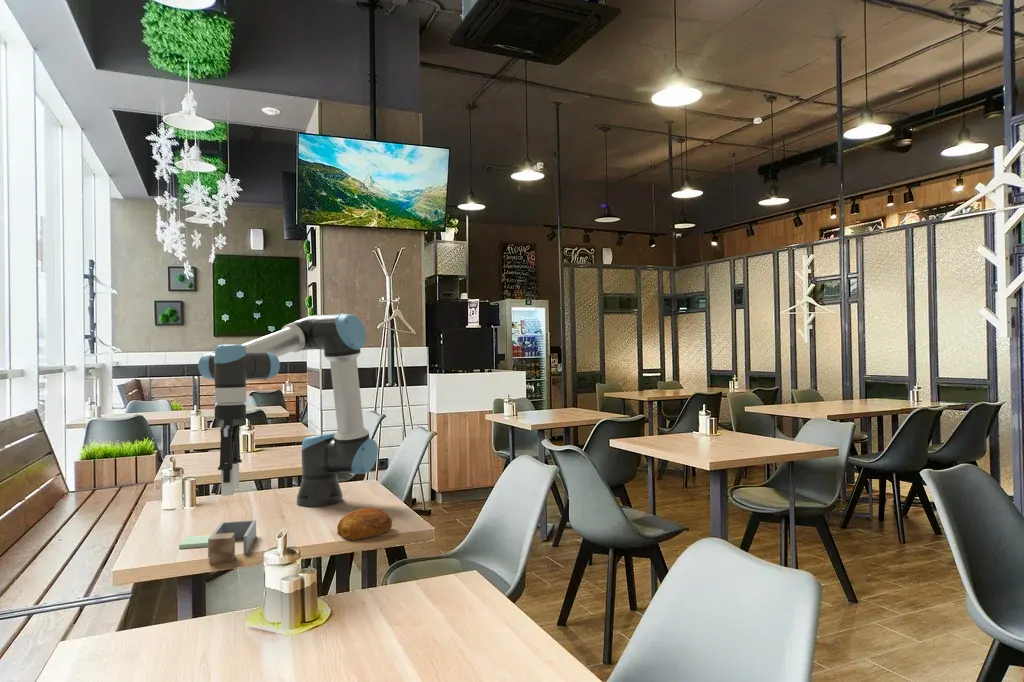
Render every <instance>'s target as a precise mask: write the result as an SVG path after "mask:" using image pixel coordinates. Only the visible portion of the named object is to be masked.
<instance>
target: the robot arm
mask: <svg viewBox="0 0 1024 682" xmlns="http://www.w3.org/2000/svg"><path fill="white" fill-rule="evenodd" d="M366 341H367V331H366V327H365V324H364V322H363V321H362V320H361V319H360V318H359V317H358V316H357V315H356V314H353V313H331V314H313V315H310V316H307V317H304V318H300V319H298V320H295V321H293V322H290V323H288V324H285V325H284V326H282V327H281V330H278V331H275V332H272V333H270V334H267V335H264V336H261V337H259V338H256V339H253V340H250V341H248V342H245V343H243V344H219V345H217V346H215V349H214V352H213V351H212V352H208V353H205V354H203V355H202V356H201V357H200V358H199V361H198V364H197V365H198V366H197V368H198V371H199V374H200V376H202V377H203V378H204V379H207V380H213V381H214V391H212V392H211V394H212V396H214V403H215V405H214V419H215V420H216V421H217V420H218V421H223V424H222V426H221V427H220V430H219V432H220V449H219V452H220V453H219V466H218V467H217V471H221V472H220V473H221V475H220V477H221V479H220V480H221V483H220V484H221V485H220V487H221V488H220V490H221V492H220V495H221V496H222V497H225V496H233V495H234V490H235V489H240V464H241V463H243V459H241V448H240V447H241V445H240V444H241V443H240V441H241V440H240V429H241V428H240V427H241V425H240V423H238V420H244V419H245V418H247V417H246V416H247V405H246V404H245V402H247V381H248V380H249V381H250V380H251V381H252V380H255V381H256V380H262V381H263V380H265V381H266V380H269V379H273V378H274V377H276V376H277V375H278V374H279V372H280V368H281V367H280V366H281V365H280V364H281V362H280V360H279V358H278V357H281V356H284V355H287V354H288V353H299V352H301V351H308V350H310V351H311V350H321V351H323V353H324V354H323V355H324V357H325V358H326V359H327V360H328V361H329V362H330V375H331V382H332V391H333V392H332V393H333V400H334V409H335V419H336V429H337V431H336V432H335V433H334V432H332V433H324V434H317V435H311V436H307V437H306V436H305V437H304V438H303V440H302V441H301V442H302V444H301V445H302V446H301V483H300V486H299V489H298V492H297V496H296V504H297V505H298V506H303V507H324V506H330V505H336V504H339V503H341V502H342V501H343V492H342V489H341V486H340V483H339V480H338V473H342V474H353V475H359V474H368V473H369V472H371V470H372V469H373V468H374V466H375V465H376V462H377V459H378V456H379V455H378V454H379V447H378V444H377V442H376V440H374V439H373V438H370V431H369V430H368V429H367V428H365V425H364V418H363V416H364V415H363V407H362V398H361V390H360V379H359V371H358V360H357V359H358V357H359V355H360V354H361V349H363V348H364V347H365V344H366Z"/></svg>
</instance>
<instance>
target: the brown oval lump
mask: <svg viewBox="0 0 1024 682" xmlns="http://www.w3.org/2000/svg"><path fill="white" fill-rule="evenodd" d="M392 525H393V520H392V518H391V516H390V515H389V514H388V513H386V512H385V511H384V510H383V509H381V508H378V507H377V508H376V507H363V508H359V509H356V510H353V511H351V512H349V513H346V514H345V515H343V516H342V517H341V519H340V520H339V522H338V523H337V525H336V526H337V528H336V530H337V534H338V536H340V537H342V538H345V539H348V540H350V541H355V540H362V539H368V538H371V537H375V535H376V536H378V535H381V534H385V533H387V532H389V531H390V530H391V529H392Z"/></svg>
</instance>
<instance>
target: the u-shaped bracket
mask: <svg viewBox="0 0 1024 682" xmlns="http://www.w3.org/2000/svg"><path fill="white" fill-rule="evenodd" d="M221 533H235V540H236V539H243V555H247V554H248V553H249V551H250V549H251V547H252V545H253V544H254V541H255V539H256V537H257V519H251V520H238V521H236V520H235V521H223V522H220V523H219V524H218V525H217V527H216V528H215V530H213V532H212V533H211V534H210V535H211V536H210V537H209V539H210V538H211V537H212V535H213V534H221ZM209 539H208V547H207V557H208V558H209Z"/></svg>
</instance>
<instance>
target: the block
mask: <svg viewBox="0 0 1024 682" xmlns="http://www.w3.org/2000/svg"><path fill="white" fill-rule="evenodd" d="M211 535H212V534H211ZM235 542H236V539H235V533H221V534H213V535H212V537H211V538H210V539H209V557H208V558H209V559H208V560H209V561H208V564H209V565H217V564H228V563H229V564H230V563H233V561H234V559H235V556H236V552H235V551H236V550H235V549H236V546H235V545H236V543H235Z"/></svg>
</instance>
